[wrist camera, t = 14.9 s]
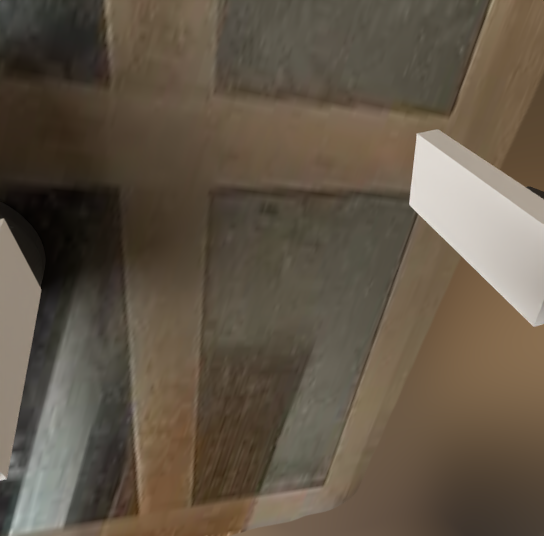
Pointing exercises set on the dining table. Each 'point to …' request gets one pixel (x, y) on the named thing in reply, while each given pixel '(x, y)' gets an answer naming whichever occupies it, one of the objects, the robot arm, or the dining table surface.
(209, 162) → the dining table surface
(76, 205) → the dining table surface
